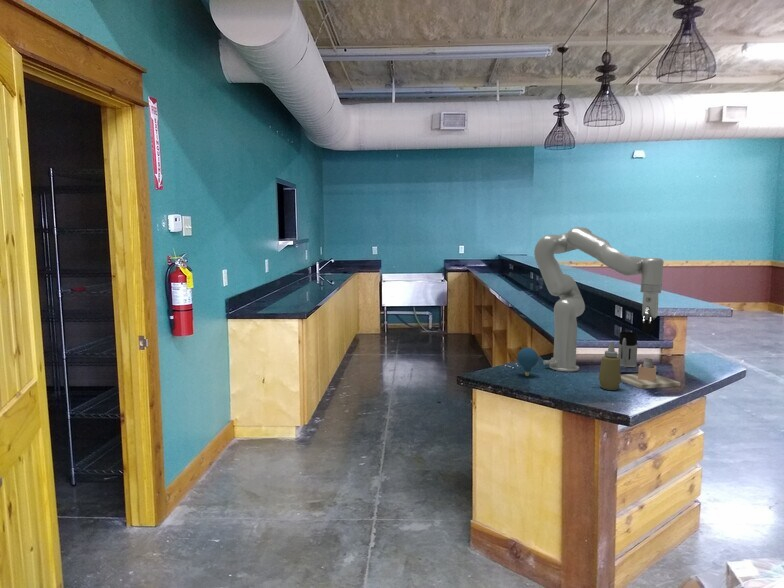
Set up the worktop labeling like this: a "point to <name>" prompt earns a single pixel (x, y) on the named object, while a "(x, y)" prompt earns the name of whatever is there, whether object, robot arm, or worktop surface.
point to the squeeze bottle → (610, 369)
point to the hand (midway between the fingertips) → (647, 331)
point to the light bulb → (527, 359)
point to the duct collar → (647, 373)
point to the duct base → (644, 384)
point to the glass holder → (628, 349)
